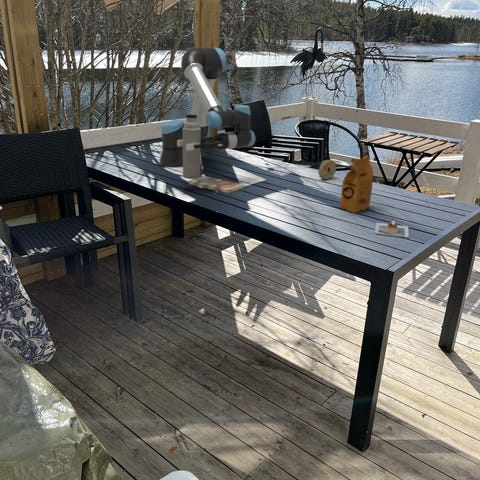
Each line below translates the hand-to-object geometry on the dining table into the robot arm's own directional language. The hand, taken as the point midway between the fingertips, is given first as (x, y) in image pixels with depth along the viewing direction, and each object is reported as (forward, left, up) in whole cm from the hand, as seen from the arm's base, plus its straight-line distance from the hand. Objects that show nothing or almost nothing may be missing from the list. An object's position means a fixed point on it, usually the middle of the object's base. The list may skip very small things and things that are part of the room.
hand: (182, 145), depth 219 cm
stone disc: (+41, +64, -21) cm, 79 cm away
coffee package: (+72, +28, -21) cm, 80 cm away
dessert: (+94, +11, -22) cm, 98 cm away
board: (+6, +17, -21) cm, 28 cm away
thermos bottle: (+1, +5, -15) cm, 16 cm away
